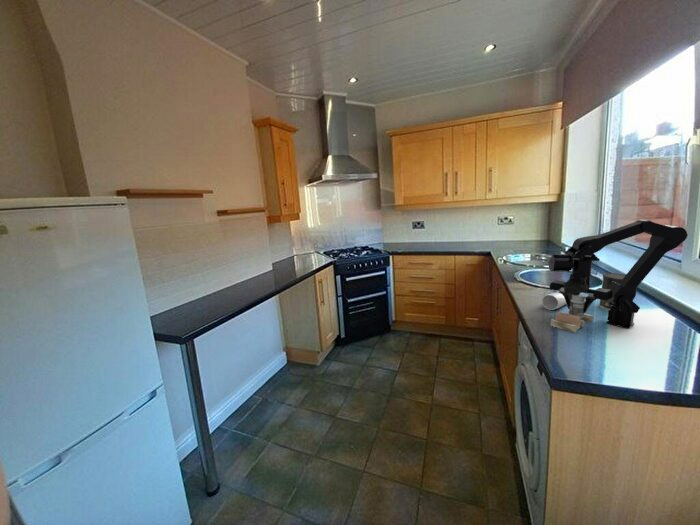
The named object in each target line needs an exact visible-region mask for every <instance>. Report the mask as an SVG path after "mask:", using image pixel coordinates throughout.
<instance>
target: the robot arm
mask: <svg viewBox="0 0 700 525" xmlns="http://www.w3.org/2000/svg"><path fill="white" fill-rule="evenodd" d="M643 233H645V234H647V235H651V236H650V238H649V246H648V247H647V249H645V250H644V252H643V253H642V254H641V255H640V256H639V257H638V260H636V261H635V263H634V264H633V266H631V268H630V269H629V270H628V272H627V273H626V274H625V277H624V278H623V279H622V280H621V281H619V282H617V283H616V282H614V281H612V282H611V283H610V285H609V286H608V287H607V288H606V289H603V288H602V287H599V288H597V289H592V288H591V284H590V282H591V278H592V276H593V275H592V267H593V262H600V261H601V259H600V258H599V257H598V256H597V255H596V254H595V253H597V252H600V251H601V250H603V249H604V248H605V247H607V246H609V245H611V244H615V243H618V242H620V241H623V240H625V239H628V238H629V239H630V238H631V237H635V236H638V235H641V234H643ZM688 236H689V235H688V232H687V230H686V229H685V228H684V227H681V226H675V225H669V224H668V225H667V224H666V225H664V224H661V223H657V222H653V221H652V220H648V219H637V220H636V221H634V222H631V223H629V224H626V225H623V226H620V227H617V228H615V229H612V230H609V231H606V232H603V233H600V234H596V235H588V236H584V237H579V238H576V239H575V240H574V241H573V243H572V246H570V248H568V249H567V250H566V251H565V253H552V254H551V257H550V258H549V261H548V269H549V271H550V272H565V273H568V272H570V271H571V274H570V275H569V279H568V280H567V281H563V280H554V281H551V282H550V283H549V286H548V290H553V291H557V292H559V293H561V294H562V295H563V296H564V298H565V300H566V304H565V305H566V307H567V309H568V310H569V309H570V300H571V299H572V294H573V295H576V296H577V295H579V294H582V293H583V294H587V296H585V305H584V313H585V314H587V311H588V309H589V308H590V307H591V305H592V304H593V303H594V301H596V300H599V301H600V300H608V301H609V304H610V305H612V307H611V309H610V310H607V320H606V324H609V325H613V326H617V327H620V328H626V329H630V328H632V327H633V326H634V325H635V322H634V317H635V314H636V313H638V312H639V311H640V309H641V307H640V306H639V305H638V304H637V303H636V302H634V299H635V298H636V295H637V290H638V289H637V288H638V287H639V286H640V284H641V283H642V282H643V281H644V280H645V279H646V277H647V276H648V275H649V274H650V272H651V271H652V270H653V269H654V267H655V266H656V265H657V264H658V263H659V262H660V261H661V259H662V258H663V257H664V256H665V255H666V253H669V252H670V251H672V250H675V249H676V248H678V247H679V246H680V245H681V244H682V243H683V242H685V241H686V240H687V238H688Z"/></svg>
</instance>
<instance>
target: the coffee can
mask: <svg viewBox="0 0 700 525" xmlns="http://www.w3.org/2000/svg"><path fill="white" fill-rule="evenodd" d="M625 275H626V274H623V273H615V272H614V273H612V272H610V273H609V272H608V273H607V272H605V273H603V274H602V283H601V288H603V289H606V288H607V287H608V286H609V285H610V283H611V282H612V281H614V282H616V283H617V282H619V281H621V280H622V279H623V278H624V277H625ZM598 307H600V308H601V309H602V310H603V309H604V310H605V311H609V310H610V309H611V307H612V305H610V304H609V301H608V300H600V299H599V304H598Z"/></svg>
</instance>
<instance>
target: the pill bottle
mask: <svg viewBox="0 0 700 525" xmlns="http://www.w3.org/2000/svg"><path fill="white" fill-rule="evenodd" d="M585 297H586V296H585V295H584V294H582V293H580V294H579V295H577V296H576V295H573V294H572V299H571V300H570V309H568V312H569V314H572V315H577V316H580V318H582V317H584V305H585V301H586V300H585Z"/></svg>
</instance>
